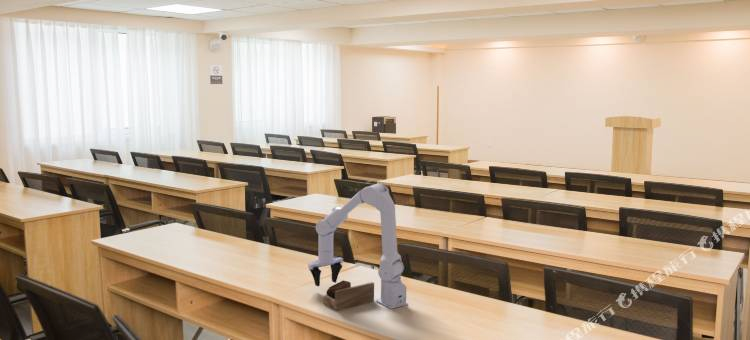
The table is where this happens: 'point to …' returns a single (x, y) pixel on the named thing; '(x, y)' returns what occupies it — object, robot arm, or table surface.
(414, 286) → the table surface
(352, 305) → the book rack
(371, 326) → the table surface
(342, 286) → the brick
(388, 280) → the robot arm
